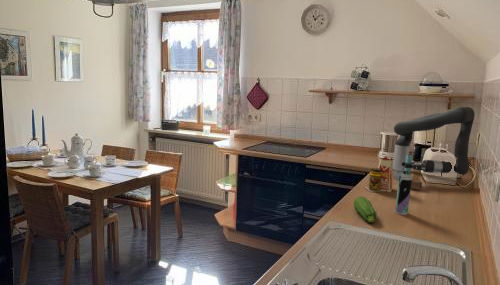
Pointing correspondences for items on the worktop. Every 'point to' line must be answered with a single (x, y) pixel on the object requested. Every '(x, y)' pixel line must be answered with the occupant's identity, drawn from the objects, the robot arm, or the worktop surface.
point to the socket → (416, 185)
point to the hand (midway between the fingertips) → (403, 165)
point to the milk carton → (386, 174)
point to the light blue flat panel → (408, 161)
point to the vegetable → (365, 209)
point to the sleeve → (397, 174)
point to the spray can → (403, 193)
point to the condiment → (375, 180)
